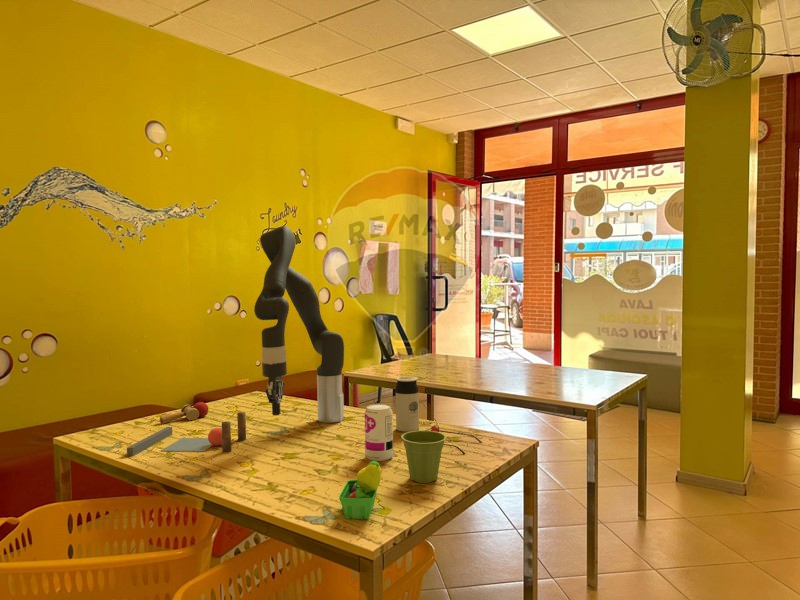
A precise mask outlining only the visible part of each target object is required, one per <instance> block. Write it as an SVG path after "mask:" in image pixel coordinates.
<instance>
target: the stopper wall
mask: <svg viewBox="0 0 800 600" xmlns="http://www.w3.org/2000/svg"><path fill="white" fill-rule="evenodd" d="M171 435H173V426H166V427H164V428H162V429H160V430H158V431H156V432H154V433H153V434H151V435H149V436H147V437H145V438H143V439H141V440H139V441H137V442H135V443H133V444H131V445H130V446H128V447H126V456H127V457H134V456H135V455H138V454H140V453H141V452H143V451H145V450H147V449H148V447H149V448H150V447H152V446H154V445H156V444H158V443H159V442H161V441H163V440H165V439H166V437H167V438H168V437H170V436H171ZM157 442H158V443H157ZM139 452H140V453H139Z"/></svg>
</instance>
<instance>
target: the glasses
mask: <svg viewBox="0 0 800 600" xmlns="http://www.w3.org/2000/svg"><path fill="white" fill-rule="evenodd" d="M425 431H436V432H440V433H446V434H454V435H462V436H469V437H472V438H473V439H475V440H476V441H478V443H480V442H482V441H481V440H480V439H479V438H477V437H476V436H475V435H473V434H470V433H469V434H468V433H462V432H455V431H447V430H440V427H439V425H433V426H431V427H430V428H429V429H425ZM443 446H448V447H453V448H456V449H457V450H458V451H459V452H461V453H462V455H464V454H466V452H465V451H464V450H462V449H461V448H460V447H458V446H457V445H455V444H454V445H453V444H448V443H447V444H446V443H444V444H443Z"/></svg>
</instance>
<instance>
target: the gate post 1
mask: <svg viewBox="0 0 800 600" xmlns="http://www.w3.org/2000/svg"><path fill="white" fill-rule="evenodd" d="M221 429H222V444H221V446H222V448H221V450H222V453H223V452H228V453H231V452H232V432H231V431H232V430H231V429H232V428H231V421H222V422H221ZM230 451H231V452H230Z"/></svg>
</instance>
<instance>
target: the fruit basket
mask: <svg viewBox="0 0 800 600" xmlns="http://www.w3.org/2000/svg"><path fill="white" fill-rule="evenodd" d="M381 475H382V468H381V466H380V463H379V461H372V460H371V461H370V462H369V463H368V464H367V466H366V467H363V468H362V469H360V470H359V471H358V472H357V474H356V479H349V480H347V481H346V483H345V485H344V487H343V488H342V490H341V493H339V496H338V500H339V502H340V504H341V508H342V509H343V515H344V517H345V519H346V520H347V519H348V520H349V519H353V520H359V519H360V520H363V519H365V520H369V519H370V515H371V513H372V510H373V507H374V504H375V500H376V496H377V492H378V488H379V486H380V484H381Z"/></svg>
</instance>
